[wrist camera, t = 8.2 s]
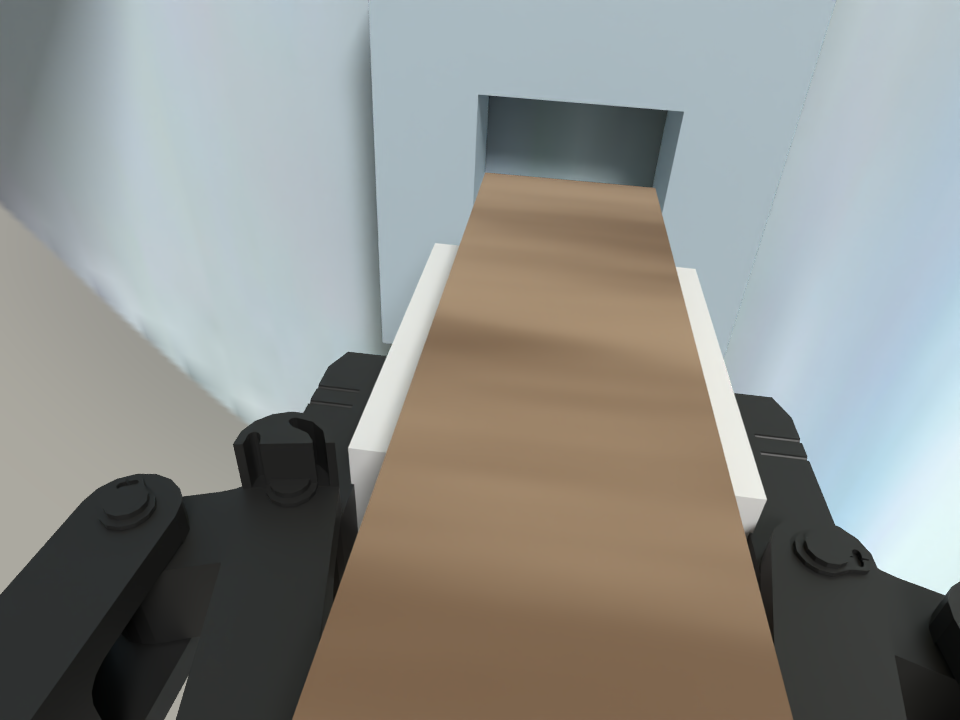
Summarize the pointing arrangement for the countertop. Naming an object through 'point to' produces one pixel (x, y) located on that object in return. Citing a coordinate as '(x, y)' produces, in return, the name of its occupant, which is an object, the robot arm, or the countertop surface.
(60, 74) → the countertop surface
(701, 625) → the peg
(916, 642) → the robot arm
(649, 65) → the socket block
